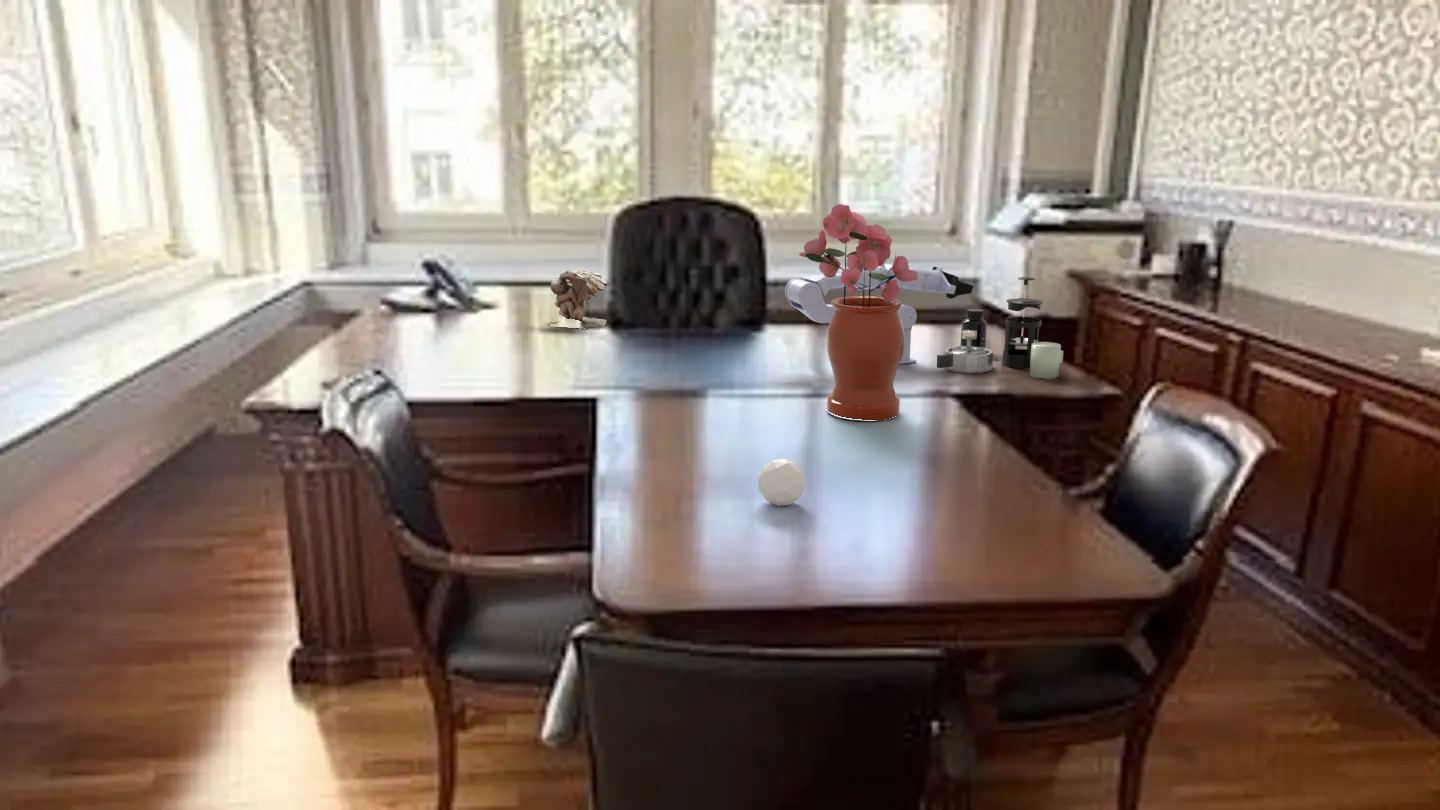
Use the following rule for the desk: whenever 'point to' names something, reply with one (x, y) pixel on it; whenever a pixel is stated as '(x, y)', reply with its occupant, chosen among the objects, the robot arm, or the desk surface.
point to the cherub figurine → (577, 294)
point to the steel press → (965, 361)
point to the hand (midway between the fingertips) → (964, 285)
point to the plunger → (969, 344)
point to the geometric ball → (781, 482)
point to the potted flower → (862, 318)
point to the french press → (1022, 356)
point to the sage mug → (1045, 359)
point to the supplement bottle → (975, 327)
